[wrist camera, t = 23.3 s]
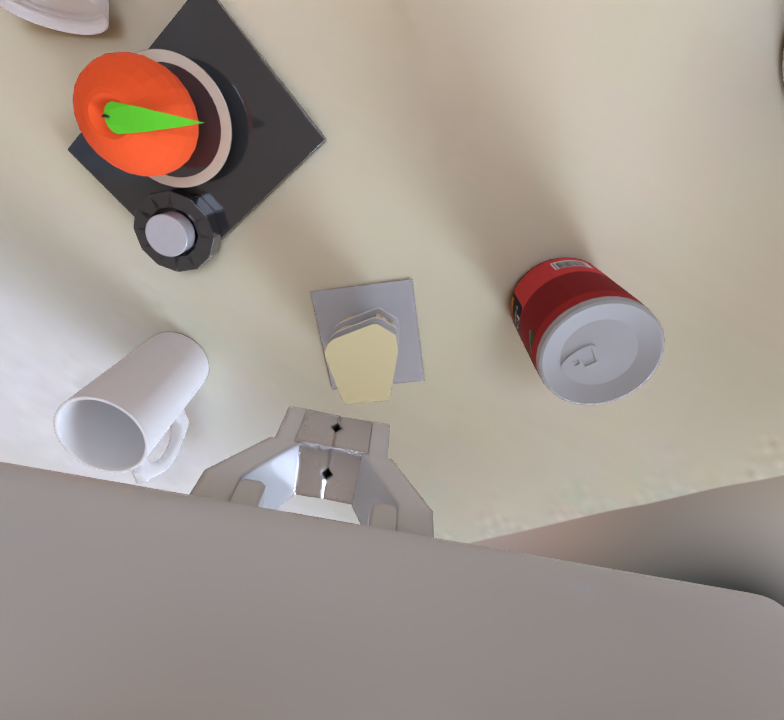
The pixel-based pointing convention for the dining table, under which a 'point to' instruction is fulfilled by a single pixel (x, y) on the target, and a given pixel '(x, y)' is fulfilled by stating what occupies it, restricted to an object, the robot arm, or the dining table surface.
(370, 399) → the stacked layers on plate
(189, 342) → the mug
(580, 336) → the canned food
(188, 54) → the hob
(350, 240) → the dining table surface
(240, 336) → the dining table surface
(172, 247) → the button
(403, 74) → the dining table surface
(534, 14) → the dining table surface
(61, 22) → the spread jar
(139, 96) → the clementine
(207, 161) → the cooking ring
